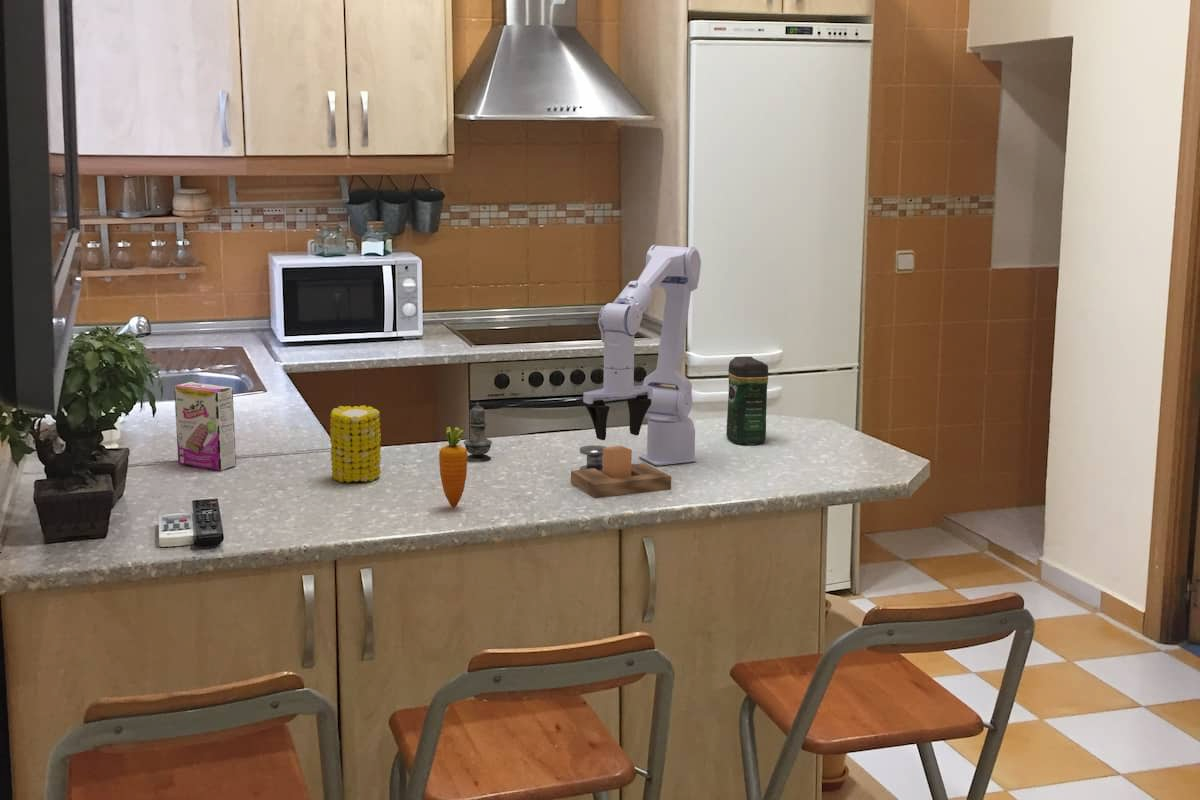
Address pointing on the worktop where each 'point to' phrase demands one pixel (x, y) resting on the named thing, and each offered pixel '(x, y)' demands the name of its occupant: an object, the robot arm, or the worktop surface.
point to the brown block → (617, 461)
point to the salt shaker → (477, 436)
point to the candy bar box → (205, 426)
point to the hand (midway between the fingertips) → (617, 436)
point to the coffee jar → (747, 400)
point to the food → (355, 443)
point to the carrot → (453, 467)
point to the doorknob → (593, 457)
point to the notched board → (621, 481)
